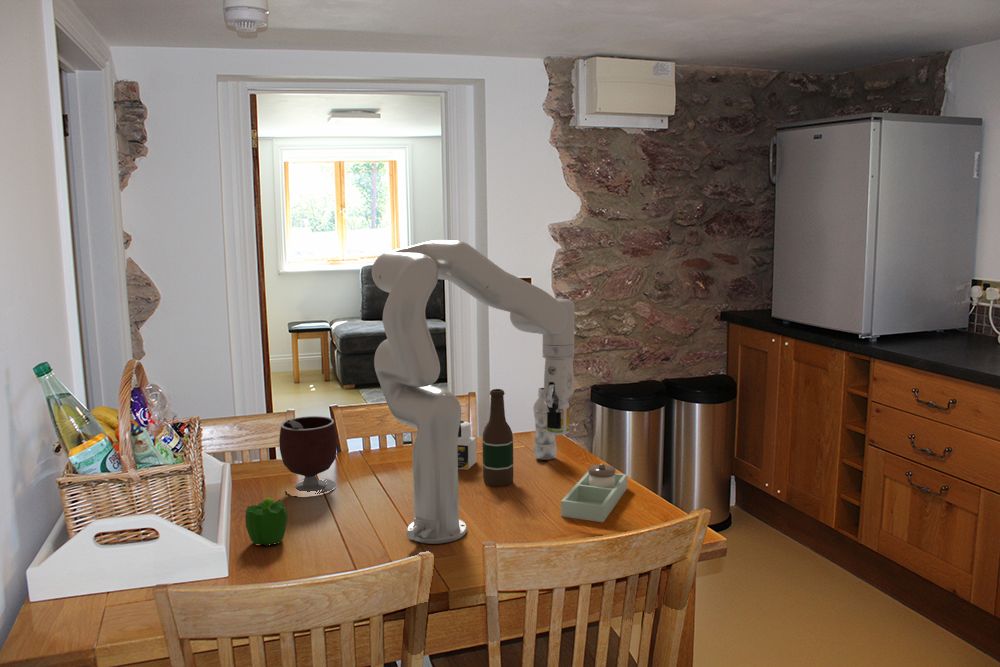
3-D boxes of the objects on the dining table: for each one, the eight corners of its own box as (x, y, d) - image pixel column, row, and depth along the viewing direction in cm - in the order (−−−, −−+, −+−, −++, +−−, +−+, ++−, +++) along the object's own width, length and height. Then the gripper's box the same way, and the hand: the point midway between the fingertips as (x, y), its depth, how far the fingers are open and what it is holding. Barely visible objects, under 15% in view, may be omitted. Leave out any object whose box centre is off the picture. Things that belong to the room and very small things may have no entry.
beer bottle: (514, 477, 196) (513, 386, 193) (512, 487, 188) (511, 393, 185) (485, 476, 197) (483, 386, 193) (481, 486, 189) (479, 393, 186)
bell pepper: (245, 538, 160) (242, 492, 159) (285, 531, 163) (282, 487, 162) (249, 553, 152) (246, 506, 151) (290, 546, 156) (288, 499, 154)
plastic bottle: (561, 457, 212) (561, 387, 209) (549, 464, 206) (549, 392, 203) (540, 454, 215) (540, 385, 212) (529, 460, 210) (528, 390, 207)
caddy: (603, 526, 164) (603, 506, 163) (561, 520, 167) (561, 500, 167) (627, 492, 184) (627, 474, 184) (588, 487, 188) (589, 469, 187)
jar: (611, 500, 176) (611, 469, 175) (585, 496, 179) (585, 466, 178) (618, 491, 182) (618, 461, 181) (592, 487, 185) (592, 458, 184)
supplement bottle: (559, 428, 186) (560, 389, 185) (573, 433, 182) (574, 393, 180) (542, 431, 183) (542, 392, 182) (555, 436, 179) (556, 396, 177)
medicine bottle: (443, 468, 204) (442, 424, 202) (452, 460, 211) (451, 418, 209) (468, 470, 202) (467, 426, 200) (476, 462, 209) (476, 419, 207)
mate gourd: (301, 477, 198) (297, 403, 195) (348, 482, 194) (345, 406, 191) (267, 498, 183) (262, 418, 180) (318, 503, 179) (314, 421, 176)
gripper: (562, 357, 170) (562, 435, 173) (583, 346, 186) (582, 418, 189) (531, 355, 173) (531, 432, 176) (554, 344, 189) (553, 415, 191)
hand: (557, 424), depth 182 cm, fingers closed on supplement bottle, 5 cm apart
